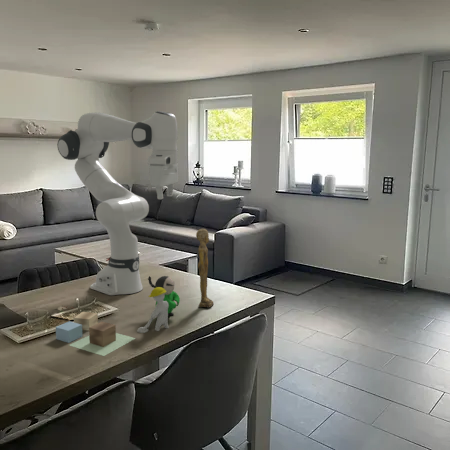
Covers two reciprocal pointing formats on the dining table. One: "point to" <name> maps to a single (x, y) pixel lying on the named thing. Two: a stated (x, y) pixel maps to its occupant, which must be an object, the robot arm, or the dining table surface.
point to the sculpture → (203, 266)
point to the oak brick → (86, 319)
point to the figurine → (158, 310)
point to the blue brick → (69, 331)
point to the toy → (167, 292)
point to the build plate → (99, 350)
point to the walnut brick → (102, 334)
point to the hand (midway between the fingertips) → (165, 197)
